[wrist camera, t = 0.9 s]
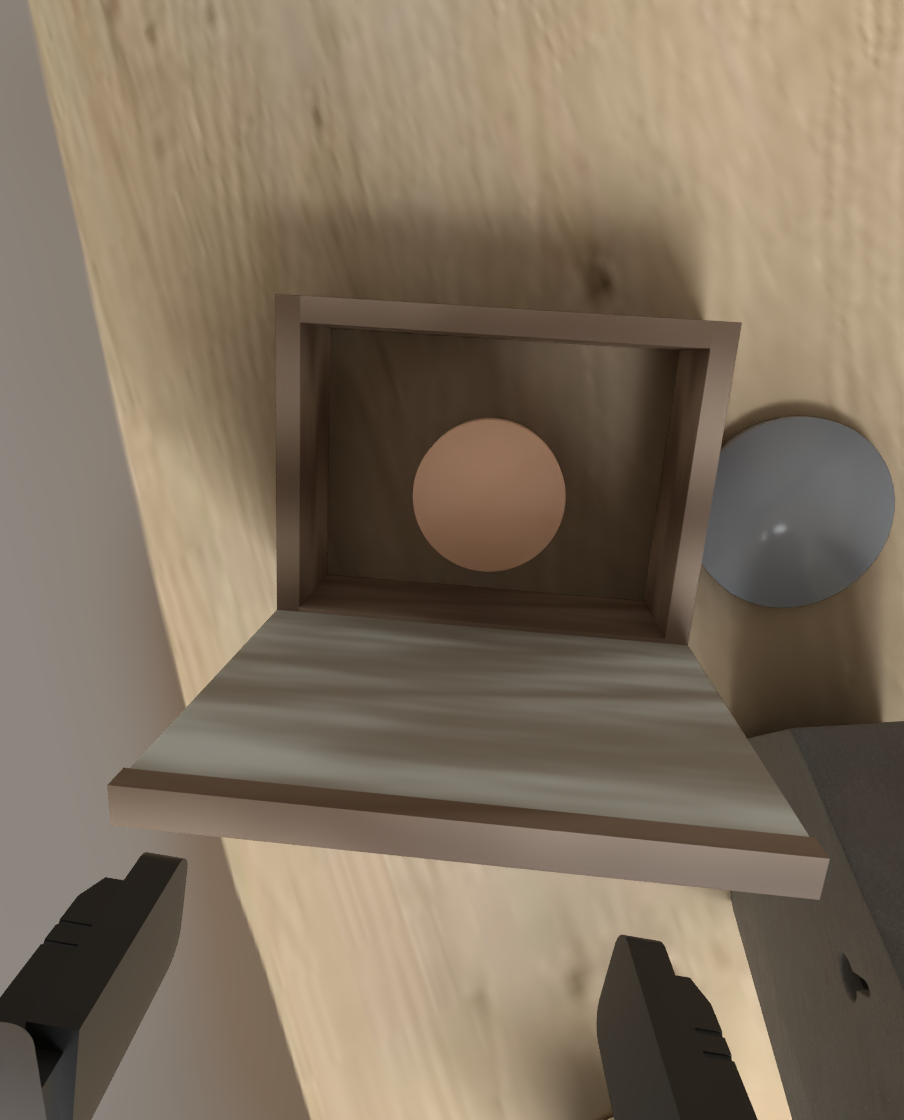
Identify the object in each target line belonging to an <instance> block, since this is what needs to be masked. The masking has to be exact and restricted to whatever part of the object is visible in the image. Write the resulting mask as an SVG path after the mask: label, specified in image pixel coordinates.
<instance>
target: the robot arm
mask: <svg viewBox="0 0 904 1120" xmlns="http://www.w3.org/2000/svg"><path fill="white" fill-rule="evenodd" d="M186 876H187V860H186V859H183V858H177V857H172V856H166V855H160V854H154V853H148V852H145V853H144V854H142V856H141V857H140V858H139V859H138V861H137V862H136V864H135V865H134V867H133V868H132V870H131V871H130V872H129V874H128V875H127V876H126V878H125V879H124V880H118V879H112V878H107V877H106V878H104V879H102V880H101V881H99V882H98V883H96V884H95V885H93V886H92V887H90V888H89V889H87V890H86V891H84V892H83V893H81V894H80V895H79V896H78V897H77V898H76V899H75V900H74V902H73V903H72V904H71V906H70V907H69V908H68V910H67V911H66V912H65V914H64V915H63V916H62V917H61V919H60V921H59V924H57V925H55V927H54V928H53V929H52V930H51V932H50V933H49V934H48V936H47V937H46V939H45V941H44V944H43V945H42V944H41V945H40V946H39V947H38V949H37V950H36V951H35V953H34V954H33V955H32V957H31V958H30V959H29V961H28V962H27V963H26V964H25V966H24V967H23V968H22V970H21V971H20V972H19V974H18V975H17V976H16V977H15V979H14V980H13V981H12V983H11V984H10V985H9V987H8V988H7V989H6V991H5V992H4V993H3V995H2V996H1V997H0V1120H91V1119H92V1117H93V1115H94V1113H95V1111H96V1109H97V1107H98V1105H99V1103H100V1101H101V1099H102V1097H103V1095H104V1093H105V1092H106V1090H107V1087H108V1086H109V1084H110V1082H111V1080H112V1077H113V1076H114V1074H115V1072H116V1070H117V1068H118V1066H119V1064H120V1062H121V1060H122V1058H123V1056H124V1054H125V1052H126V1050H127V1049H128V1047H129V1045H130V1043H131V1041H132V1039H133V1037H134V1035H135V1033H136V1031H137V1029H138V1027H139V1025H140V1023H141V1021H142V1019H143V1017H144V1015H145V1013H146V1011H147V1009H148V1008H149V1005H150V1004H151V1002H152V1000H153V998H154V996H155V994H156V992H157V990H158V988H159V986H160V984H161V982H162V980H163V978H164V976H165V974H166V972H167V970H168V968H169V966H170V964H171V961H172V958H173V956H174V953H175V950H176V946H177V943H178V939H179V934H180V929H181V921H182V912H183V903H184V893H185V885H186ZM597 1038H598V1044H599V1049H600V1054H601V1059H602V1063H603V1068H604V1073H605V1078H606V1083H607V1088H608V1092H609V1097H610V1102H611V1107H612V1112H613V1117H614V1120H758V1119H757V1117H756V1114H755V1112H754V1110H753V1107H752V1105H751V1102H750V1100H749V1097H748V1095H747V1092H746V1090H745V1087H744V1085H743V1082H742V1080H741V1077H740V1075H739V1072H738V1070H737V1067H736V1065H735V1063H734V1062H733V1061H732V1059H731V1056H732V1055H731V1053H730V1050H729V1048H728V1045H727V1043H726V1040H725V1038H723V1037H722V1030H721V1028H720V1025H719V1023H718V1020H717V1018H716V1016H715V1013H714V1011H713V1008H712V1006H711V1004H710V1002H709V1001H708V1000H707V999H706V997H705V996H704V995H703V994H702V992H701V991H700V990H699V989H698V987H697V986H696V985H695V984H694V982H693V981H692V980H691V979H690V978H688V977H682V976H676V975H675V973H674V970H673V968H672V965H671V962H670V959H669V957H668V954H667V951H666V948H665V946H664V945H663V943H662V942H660V941H656V940H650V939H644V938H638V937H632V936H626V935H620V936H619V937H618V938H617V941H616V943H615V946H614V950H613V953H612V957H611V960H610V964H609V968H608V971H607V975H606V978H605V982H604V985H603V989H602V992H601V996H600V999H599V1004H598V1010H597Z"/></svg>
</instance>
